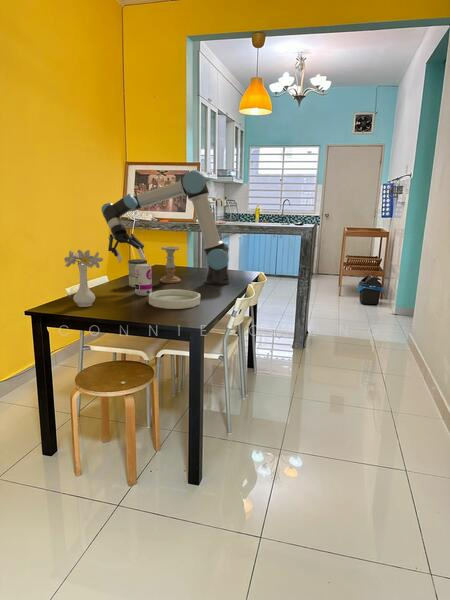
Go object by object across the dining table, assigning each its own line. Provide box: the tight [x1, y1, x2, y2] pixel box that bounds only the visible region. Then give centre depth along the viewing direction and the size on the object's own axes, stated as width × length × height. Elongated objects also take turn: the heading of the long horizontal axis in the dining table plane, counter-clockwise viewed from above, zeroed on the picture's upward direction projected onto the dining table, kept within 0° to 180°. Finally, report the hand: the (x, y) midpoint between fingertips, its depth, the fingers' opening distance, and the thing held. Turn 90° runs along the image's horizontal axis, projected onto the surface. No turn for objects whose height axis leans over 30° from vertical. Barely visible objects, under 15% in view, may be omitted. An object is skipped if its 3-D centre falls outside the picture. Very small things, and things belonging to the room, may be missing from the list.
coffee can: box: [127, 258, 148, 288], centre depth 228 cm, size 10×10×14 cm
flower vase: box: [63, 249, 104, 308], centre depth 182 cm, size 13×18×25 cm
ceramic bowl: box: [148, 289, 201, 310], centre depth 195 cm, size 24×24×4 cm
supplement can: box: [134, 263, 153, 296], centre depth 208 cm, size 8×8×15 cm
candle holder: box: [159, 246, 182, 284], centre depth 241 cm, size 12×12×20 cm
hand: (132, 259), depth 212 cm, fingers open, 13 cm apart
